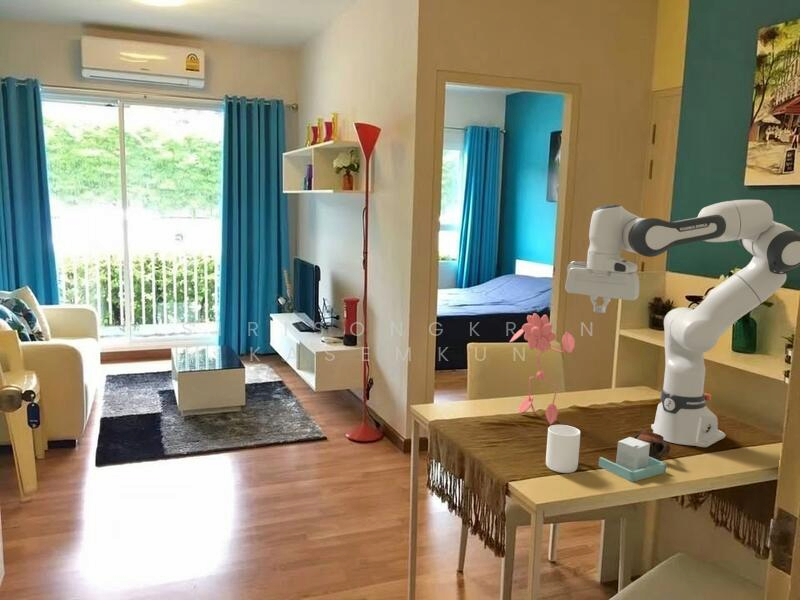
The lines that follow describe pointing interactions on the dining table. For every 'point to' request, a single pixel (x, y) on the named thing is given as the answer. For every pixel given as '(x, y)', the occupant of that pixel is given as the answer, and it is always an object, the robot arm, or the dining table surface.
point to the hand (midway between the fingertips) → (599, 312)
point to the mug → (562, 448)
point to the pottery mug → (654, 443)
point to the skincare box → (632, 454)
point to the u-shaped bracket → (652, 470)
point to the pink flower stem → (540, 339)
